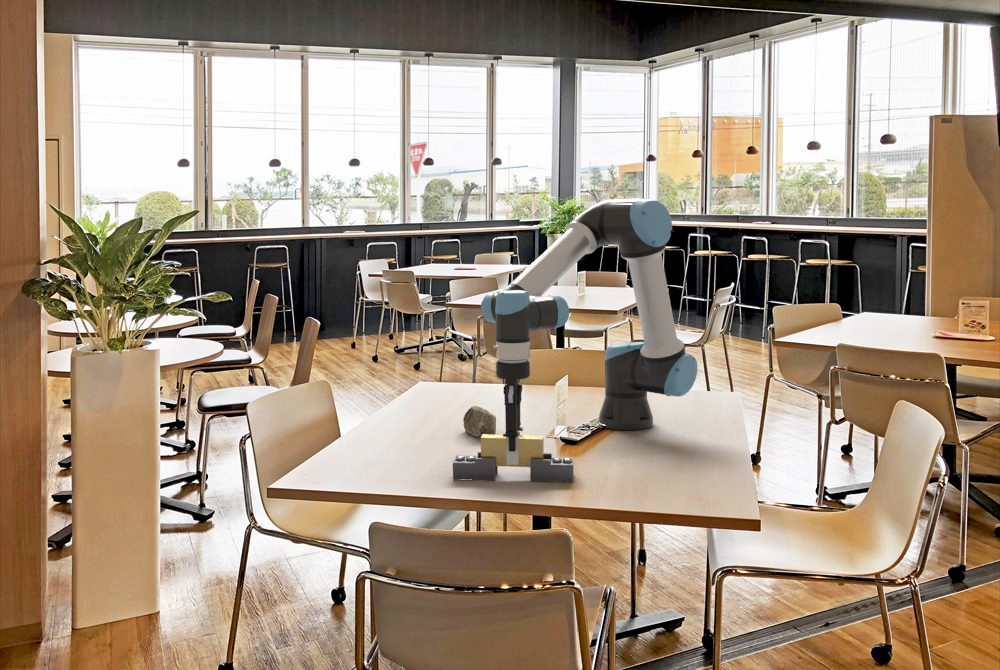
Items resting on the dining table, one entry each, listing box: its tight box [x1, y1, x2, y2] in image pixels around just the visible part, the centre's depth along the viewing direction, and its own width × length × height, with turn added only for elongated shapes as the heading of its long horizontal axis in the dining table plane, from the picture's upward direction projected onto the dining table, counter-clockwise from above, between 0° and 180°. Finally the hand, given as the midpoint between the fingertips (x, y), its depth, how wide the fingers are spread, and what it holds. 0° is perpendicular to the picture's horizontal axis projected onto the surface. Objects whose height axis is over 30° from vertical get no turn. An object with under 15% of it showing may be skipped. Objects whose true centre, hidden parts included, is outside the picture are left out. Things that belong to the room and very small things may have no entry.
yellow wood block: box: [480, 434, 545, 468], centre depth 202 cm, size 14×3×6 cm, turn 84°
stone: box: [462, 405, 497, 438], centre depth 242 cm, size 7×12×7 cm, turn 33°
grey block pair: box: [452, 451, 575, 484], centre depth 203 cm, size 27×6×5 cm, turn 84°
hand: (513, 461), depth 203 cm, fingers closed on yellow wood block, 3 cm apart
